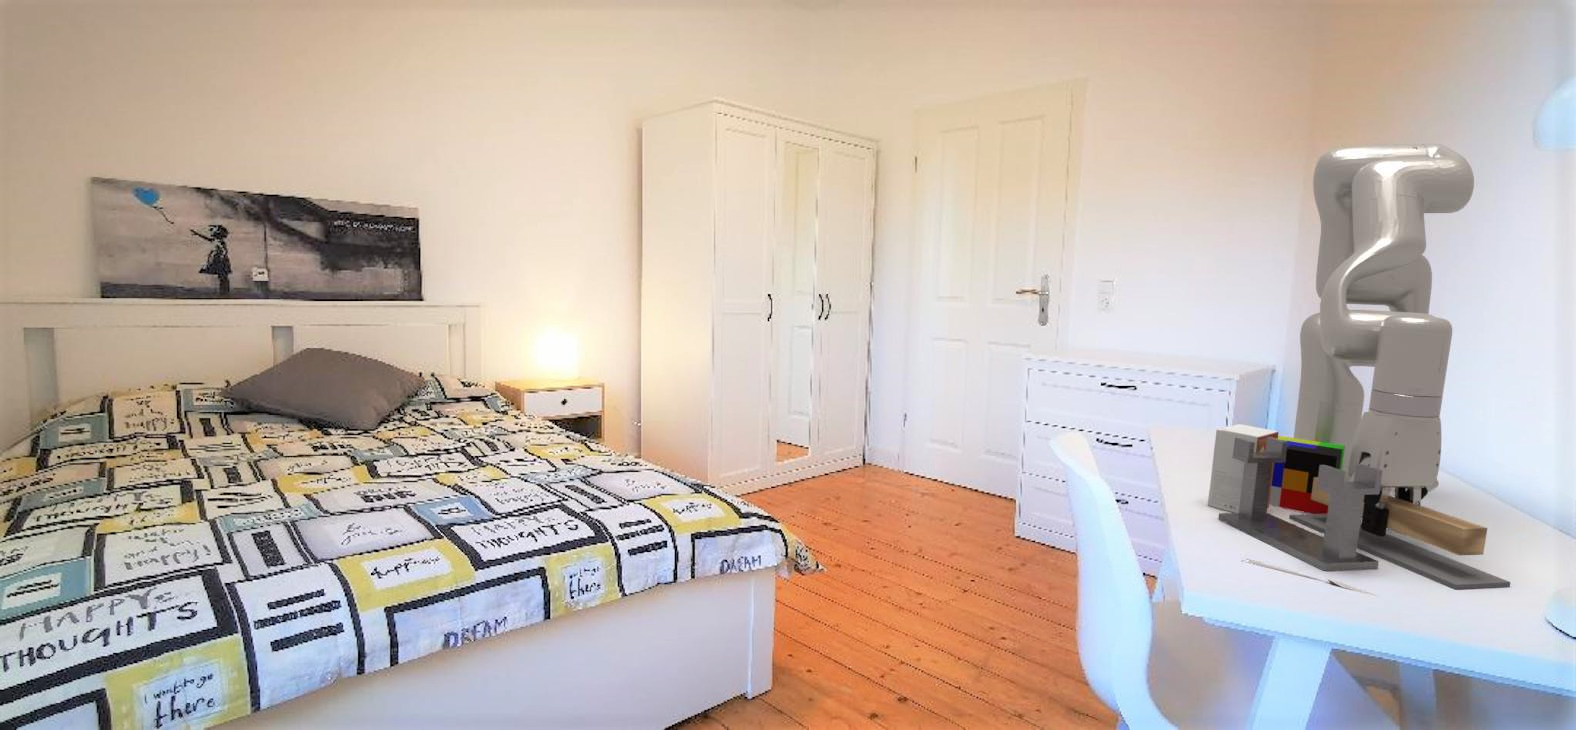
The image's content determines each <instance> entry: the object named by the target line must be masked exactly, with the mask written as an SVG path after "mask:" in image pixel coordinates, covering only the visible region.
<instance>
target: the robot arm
mask: <svg viewBox="0 0 1576 730" xmlns="http://www.w3.org/2000/svg"><path fill="white" fill-rule="evenodd" d="M1474 176H1475V175H1474V172H1473V169H1472V166H1471V165H1470V163H1469V161H1467V159H1466V158H1465V157H1464V156H1463V155H1461V154H1460V153H1458V152H1456V151H1455V150H1453V149H1451V148H1449V147H1448V146H1445V145H1443V144H1440V143H1404V144H1402V143H1401V144H1399V143H1398V144H1367V145H1366V144H1363V145H1361V144H1360V145H1351V146H1342V147H1339V148H1338V147H1337V148H1335V149H1334V148H1333V149H1331V150H1328V151H1326V152H1325V153H1324V154H1322V155H1321V156H1320V157H1319V158H1318V160H1317V162H1316V164H1315V168H1314V173H1313V178H1312V188H1313V189H1312V190H1313V196H1314V202H1315V204H1316V208H1317V212H1318V215H1319V220H1320V238H1319V245H1318V254H1317V255H1318V257H1317V265H1316V275H1315V290H1316V294H1317V296H1318V297H1319V298H1320V303H1319V312H1317V313H1314V314H1311V315H1310V316H1308V317H1307V318H1305V319H1304V321H1303V323H1302V325H1301V328H1300V333H1299V335H1300V336H1299V337H1300V338H1299V342H1300V344H1299V345H1300V354H1301V355H1300V356H1301V357H1300V358H1301V359H1300V361H1301V364H1300V365H1301V368H1300V379H1299V380H1300V381H1299V389H1298V399H1297V400H1298V401H1297V407H1296V409H1297V410H1296V417H1295V424H1294V433H1293V438H1296V439H1303V440H1310V441H1316V442H1323V443H1330V444H1336V445H1343V446H1345V451H1344V458H1343V465H1342V470H1343V471H1345V477H1344V481H1347V482H1354V475H1355V468H1356V464H1363V465H1366V466H1369V467H1373V468H1376V469H1379V470H1382V478H1381V484H1380V494H1378V495H1377V494H1373V495H1364V502H1363V503H1364V510H1363V517H1362V518H1361V523H1360V524H1361V528H1362V530H1364V531H1367V532H1369V533H1372V534H1374V535H1377V536H1379V537H1384V536H1385V535H1386V534H1387V530H1388V528H1387V521H1388V514H1389V510H1388V509H1386V508H1385V507H1386V504H1387V500H1388V496H1390V493H1391V489H1394V497H1395V498H1398V499H1401V500H1404V501H1407V502H1410V503H1413V504H1416V505H1419V506H1422V500H1423V499H1424V498H1425V497H1426V496H1427V495H1428V493H1430V492H1431V491H1433V490H1435V489H1437V488H1438V486H1439V481H1438V475H1439V470H1440V464H1441V458H1442V457H1441V456H1442V455H1441V454H1442V424H1441V423H1442V422H1441V421H1442V420H1441V417H1440V416H1441V408H1442V404H1443V397H1444V396H1443V395H1444V389H1445V383H1446V378H1447V377H1446V376H1447V369H1448V363H1449V359H1450V358H1449V356H1450V351H1451V345H1452V337H1453V326H1452V324H1451V322H1450V321H1449V320H1448V319H1445V318H1443V317H1436V316H1435V315H1432V314H1429V312H1430V303H1431V295H1432V285H1433V284H1432V283H1433V272H1432V266H1431V264H1430V261H1429V260H1428V259H1427V257H1426V256H1424V253H1425V252H1426V248H1427V238H1426V224H1425V214H1453V213H1457V212H1459V211H1460V210H1462V209H1464V208H1465V207H1466V206H1467V205H1468V203H1469V202H1470V200H1471V199H1472V196H1473V192H1474V188H1475V177H1474ZM1348 305H1366V306H1369V305H1370V306H1371V305H1372V306H1386V307H1388V310H1368V309H1367V310H1366V309H1348ZM1352 367H1370V368H1371V367H1372V368H1374V369H1373V370H1374V371H1373V377H1372V384H1371V391H1370V397H1369V399H1370V400H1369V406H1368V411H1364V412H1363V409H1364V402H1365V389H1364V387H1363V384H1362V383H1361V381H1360V380H1359V379H1358V378H1357V377H1356V376H1355V375H1354V373H1353V372H1352V370H1351V368H1352ZM1389 530H1390V531H1393V530H1391V529H1389ZM1393 532H1395V533H1398V534H1400V535H1403V536H1407V535H1404V534H1401V533H1399V532H1396V531H1393ZM1407 537H1408V536H1407Z"/></svg>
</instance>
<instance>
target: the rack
mask: <svg viewBox="0 0 1576 730" xmlns="http://www.w3.org/2000/svg"><path fill="white" fill-rule="evenodd" d="M1287 444H1288V442H1286V441H1283V440H1280V439H1276V438H1273V437H1267V442H1266V451H1265V452H1254V446H1255V442H1252V441H1249V440H1246V439H1243V438H1240V437H1239V438H1235V442H1234V450H1233V457H1232V458H1234V459H1237V460H1239V461H1242V462H1245V463H1244V471H1243V480H1242V488H1241V497H1240V505H1239V513H1234V512H1223V513H1222V512H1220V513H1218V518H1217V519H1219V520H1218V521H1220V520H1221V522H1222V521H1224V522H1226V523H1227V524H1226V523H1225V524H1226V525H1229V526H1230V527H1233V528H1235V529H1237V528H1238V529H1237V530H1238V531H1241V532H1243V531H1244V533H1245V532H1246V533H1245V534H1247V533H1248V534H1247V535H1250V536H1251V535H1252V536H1251V537H1253V536H1254V537H1253V538H1255V539H1257V538H1258V540H1259V541H1261V542H1264V543H1266V544H1268V545H1270V546H1272V547H1273V548H1276V549H1278V550H1280V551H1283V552H1285V553H1286V554H1288V555H1291V556H1293V557H1294V558H1297V559H1299V560H1300V561H1303V562H1304V563H1307V564H1309V565H1311V566H1313V567H1315V568H1318V570H1321V571H1323V572H1331V571H1332V572H1333V571H1352V570H1355V571H1356V570H1373V569H1376V570H1378V568H1379V560H1378V559H1377V560H1376V559H1374V558H1372V557H1369V556H1367V555H1365V554H1362V553H1361V552H1359V551H1358V550H1357V549H1358V548H1357V544H1358V537H1359V530H1360V524H1362V518H1361V516H1362V509H1363V502H1364V495H1373V494H1380V484H1381V478H1382V470H1379V469H1376V468H1373V467H1369V466H1366V465H1363V464H1356V468H1355V475H1354V482H1344V477H1345V471H1343V470H1340V469H1337V468H1333V467H1330V466H1327V465H1320V466H1319V474H1318V482H1317V487H1316V488H1317V489H1320V490H1322V491H1325V492H1328V493H1330V499H1329V506H1328V513H1327V521H1326V528H1325V533H1324V535H1323V536H1321V535H1318V534H1317V533H1315V532H1312V531H1310V530H1307V529H1305V528H1303V527H1300V526H1298V525H1296V524H1293V523H1291V522H1289V521H1287V520H1284V519H1282V518H1281V517H1278V516H1275V515H1273V514H1270V513H1268V512H1267V511H1268V508H1267V504H1268V496H1269V487H1270V479H1271V471H1272V463H1285V462H1286V452H1287ZM1224 522H1223V523H1224Z"/></svg>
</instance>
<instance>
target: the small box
mask: <svg viewBox="0 0 1576 730" xmlns="http://www.w3.org/2000/svg"><path fill="white" fill-rule="evenodd" d="M1279 432H1280V431H1278V430H1273V429H1267V428H1263V427H1257V426H1254V425H1253V426H1252V425H1246V424H1243V423H1242V424H1241V423H1237V424H1234V425H1227V426H1224V427H1221V428H1219V429H1217V428H1216V433H1215V439H1214V449H1213V457H1212V464H1211V465H1212V466H1211V477H1210V484H1209V492H1208V493H1209V494H1208V501H1207V506H1209V507H1212V506H1213V507H1212V508H1216V509H1219V508H1220V510H1224V511H1227V512H1230V511H1231V512H1230V513H1239V505H1240V497H1241V488H1242V480H1243V471H1244V463H1245V462H1242V461H1239V460H1237V459H1234V458H1232V457H1233V450H1234V442H1235V438H1239V437H1240V438H1243V439H1246V440H1249V441H1252V442H1255V446H1254V452H1265V451H1266V442H1267V437H1273V438H1276V439H1278V436H1279ZM1273 470H1274V463H1272V471H1271V479H1270V487H1269V496H1268V504H1267V509H1268V508H1269V507H1270V505H1269V501H1270V494H1271V485H1272V478H1273Z"/></svg>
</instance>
